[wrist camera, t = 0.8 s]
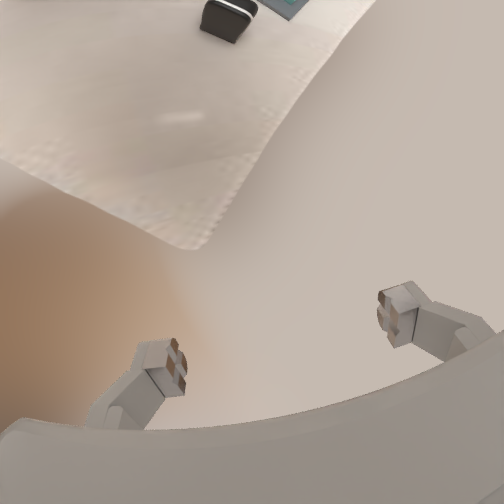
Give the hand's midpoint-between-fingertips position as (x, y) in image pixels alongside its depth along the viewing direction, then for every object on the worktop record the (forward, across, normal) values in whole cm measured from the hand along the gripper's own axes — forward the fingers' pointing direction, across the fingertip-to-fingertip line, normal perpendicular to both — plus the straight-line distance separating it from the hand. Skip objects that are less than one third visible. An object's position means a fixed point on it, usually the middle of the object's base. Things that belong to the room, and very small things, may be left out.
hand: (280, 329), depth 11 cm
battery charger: (+40, -2, -24) cm, 47 cm away
